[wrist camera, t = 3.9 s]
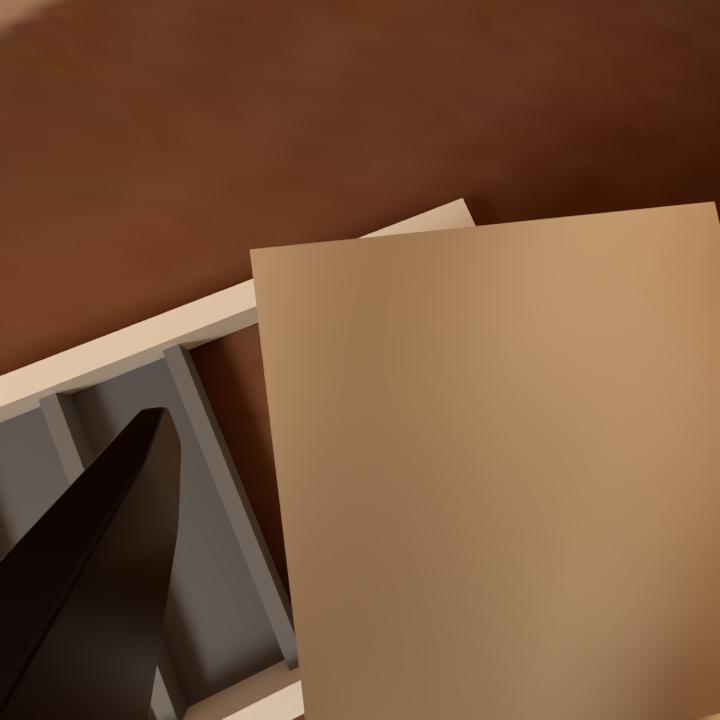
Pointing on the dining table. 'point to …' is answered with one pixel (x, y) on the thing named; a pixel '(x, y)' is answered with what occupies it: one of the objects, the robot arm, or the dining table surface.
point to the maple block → (501, 467)
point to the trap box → (197, 496)
